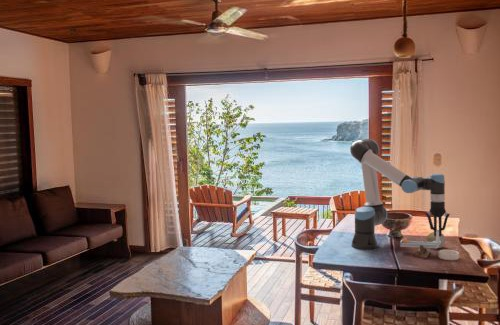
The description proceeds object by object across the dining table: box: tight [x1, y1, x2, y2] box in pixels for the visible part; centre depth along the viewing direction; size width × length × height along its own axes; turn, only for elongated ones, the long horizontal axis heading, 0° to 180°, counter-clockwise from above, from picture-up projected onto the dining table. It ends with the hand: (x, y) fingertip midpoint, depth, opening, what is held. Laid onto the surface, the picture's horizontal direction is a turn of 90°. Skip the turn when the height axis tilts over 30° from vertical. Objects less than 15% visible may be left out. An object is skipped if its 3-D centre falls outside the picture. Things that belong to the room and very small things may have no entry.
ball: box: [401, 237, 410, 243], centre depth 265 cm, size 4×4×4 cm
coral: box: [426, 231, 446, 249], centre depth 276 cm, size 10×10×10 cm
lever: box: [399, 238, 441, 249], centre depth 265 cm, size 20×15×3 cm
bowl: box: [437, 249, 460, 261], centre depth 255 cm, size 10×10×3 cm
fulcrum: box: [415, 240, 431, 259], centre depth 261 cm, size 6×12×6 cm, turn 150°
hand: (437, 241), depth 264 cm, fingers closed
